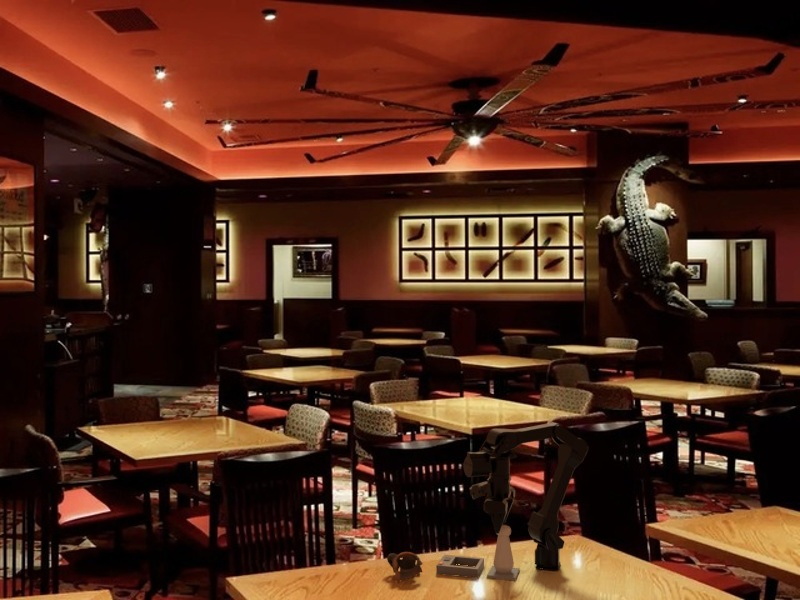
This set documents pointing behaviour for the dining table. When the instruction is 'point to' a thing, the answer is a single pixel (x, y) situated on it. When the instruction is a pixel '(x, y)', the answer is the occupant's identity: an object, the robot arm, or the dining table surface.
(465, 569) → the grey rectangular tray
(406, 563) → the pottery mug
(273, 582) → the dining table surface
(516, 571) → the slate coaster
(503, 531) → the salt shaker
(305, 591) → the dining table surface
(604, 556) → the dining table surface
